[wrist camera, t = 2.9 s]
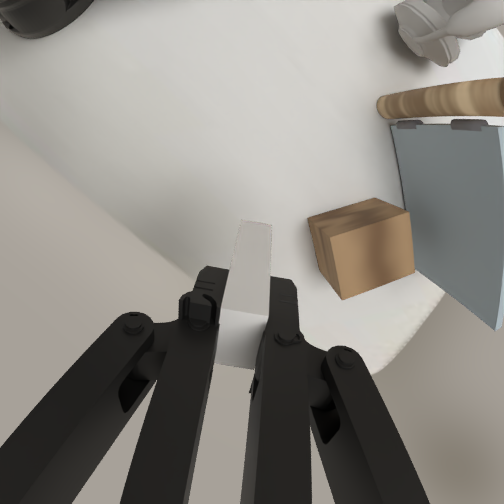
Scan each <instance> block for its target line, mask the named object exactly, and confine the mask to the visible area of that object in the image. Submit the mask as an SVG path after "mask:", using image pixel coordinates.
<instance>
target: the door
mask: <svg viewBox="0 0 504 504" xmlns="http://www.w3.org/2000/svg"><path fill="white" fill-rule="evenodd" d="M391 130H392V134H393V139H394V143H395V148H396V153H397V158H398V164H399V169H400V175H401V180H402V187H403V193H404V200H405V207H406V211H408V212H409V214H410V222H411V231H412V241H413V253H414V267H415V269H416V270H417V271H419V272H420V273H421V274H423V275H424V276H425V277H427V278H428V279H429V280H431V281H432V282H433V283H435V284H436V285H437V286H439V287H440V288H441V289H443V290H444V291H445V292H447V293H448V294H449V295H451V296H452V297H453V298H455V299H456V300H457V301H458V302H460V303H461V304H462V305H464V306H465V307H466V308H467V309H469V310H470V311H471V312H472V313H474V314H475V315H476V316H477V317H479V318H480V319H481V320H483V322H485V323H486V324H487V325H488V326H490V327H491V328H492V329H493V330H494V331H496V330H498V329H499V328H501V327H502V321H503V315H504V126H495V125H488V123H487V121H486V120H479V119H453V120H452V121H451V124H423V122H422V121H421V120H405V121H398V122H397V123H396V125H392V126H391Z"/></svg>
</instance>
